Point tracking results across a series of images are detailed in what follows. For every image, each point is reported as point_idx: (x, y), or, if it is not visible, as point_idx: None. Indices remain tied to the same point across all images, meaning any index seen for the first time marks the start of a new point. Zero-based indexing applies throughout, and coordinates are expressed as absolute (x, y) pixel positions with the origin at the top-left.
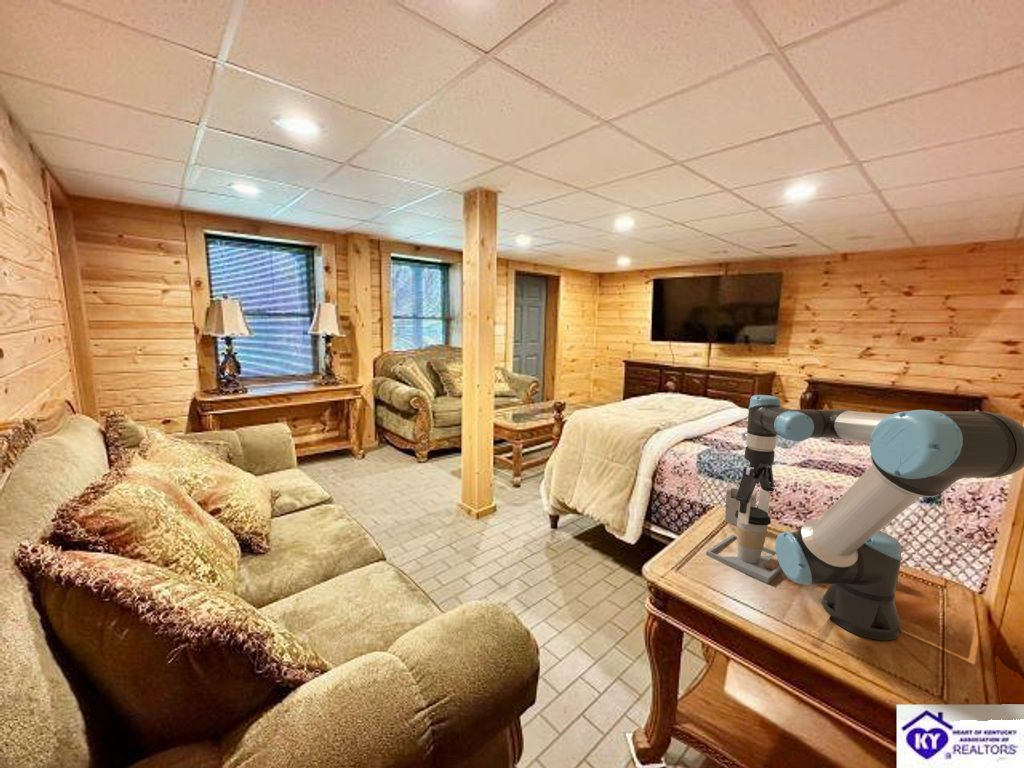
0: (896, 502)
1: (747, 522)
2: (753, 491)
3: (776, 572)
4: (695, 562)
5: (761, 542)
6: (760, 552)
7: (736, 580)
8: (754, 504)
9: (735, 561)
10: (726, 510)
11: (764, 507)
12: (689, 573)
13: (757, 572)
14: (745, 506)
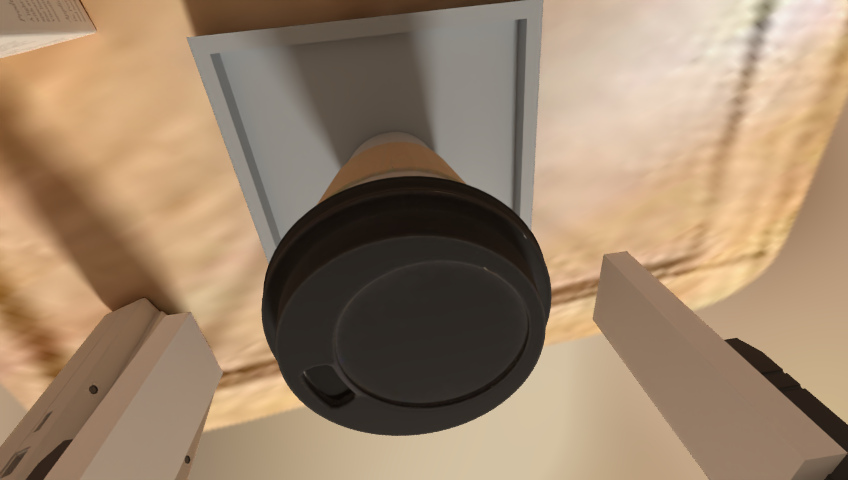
0: None
1: (639, 264)
2: None
3: (431, 11)
4: (589, 260)
5: (420, 152)
6: (396, 140)
7: (604, 106)
8: (48, 434)
9: None
10: (197, 438)
11: (180, 368)
12: (680, 227)
13: (531, 65)
14: (819, 418)
